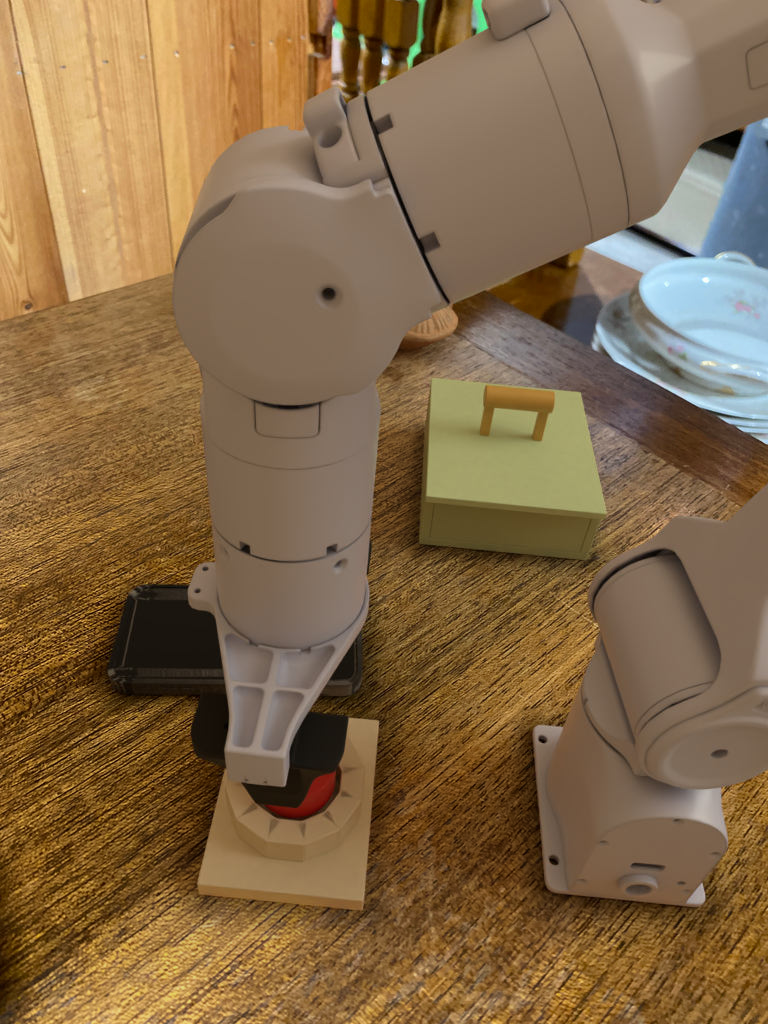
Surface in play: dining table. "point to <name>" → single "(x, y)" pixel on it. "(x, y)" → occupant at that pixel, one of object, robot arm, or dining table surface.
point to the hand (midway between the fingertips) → (292, 722)
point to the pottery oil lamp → (431, 329)
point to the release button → (310, 798)
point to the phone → (187, 648)
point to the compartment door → (511, 450)
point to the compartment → (502, 527)
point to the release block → (297, 838)
